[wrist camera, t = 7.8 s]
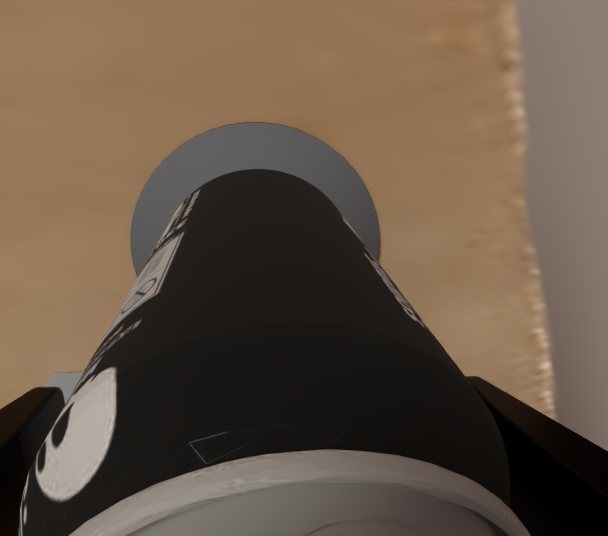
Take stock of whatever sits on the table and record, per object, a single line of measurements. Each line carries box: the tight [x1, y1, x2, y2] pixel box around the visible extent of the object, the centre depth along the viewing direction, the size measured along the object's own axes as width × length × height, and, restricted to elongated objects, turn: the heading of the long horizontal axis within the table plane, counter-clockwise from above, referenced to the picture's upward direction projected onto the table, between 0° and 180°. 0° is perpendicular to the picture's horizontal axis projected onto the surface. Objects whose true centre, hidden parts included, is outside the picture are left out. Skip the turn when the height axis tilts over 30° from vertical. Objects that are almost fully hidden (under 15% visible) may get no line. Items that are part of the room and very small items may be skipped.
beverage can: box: [19, 169, 530, 536], centre depth 10 cm, size 7×7×12 cm
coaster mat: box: [130, 122, 379, 278], centre depth 15 cm, size 9×9×1 cm
